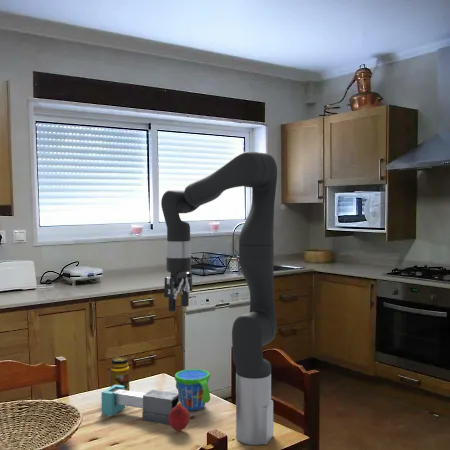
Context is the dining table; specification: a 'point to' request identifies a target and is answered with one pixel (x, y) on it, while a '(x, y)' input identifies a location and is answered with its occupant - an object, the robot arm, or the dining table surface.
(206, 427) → the dining table surface
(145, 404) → the sleeve
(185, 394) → the snack cup
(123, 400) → the slip tube
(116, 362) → the condiment
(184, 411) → the onion
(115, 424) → the dining table surface
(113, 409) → the socket
